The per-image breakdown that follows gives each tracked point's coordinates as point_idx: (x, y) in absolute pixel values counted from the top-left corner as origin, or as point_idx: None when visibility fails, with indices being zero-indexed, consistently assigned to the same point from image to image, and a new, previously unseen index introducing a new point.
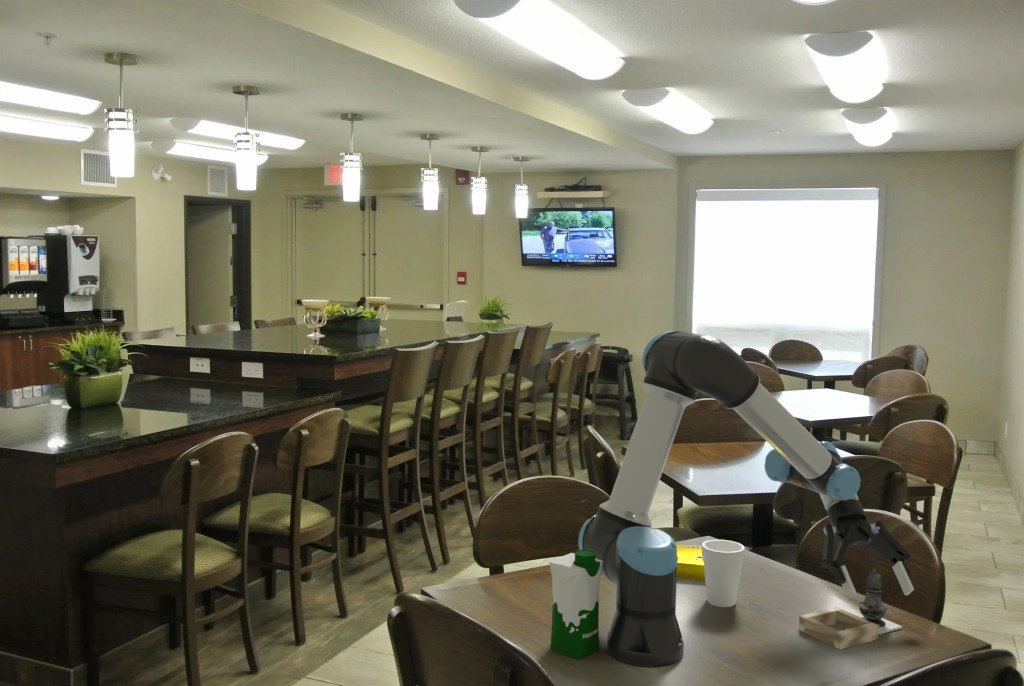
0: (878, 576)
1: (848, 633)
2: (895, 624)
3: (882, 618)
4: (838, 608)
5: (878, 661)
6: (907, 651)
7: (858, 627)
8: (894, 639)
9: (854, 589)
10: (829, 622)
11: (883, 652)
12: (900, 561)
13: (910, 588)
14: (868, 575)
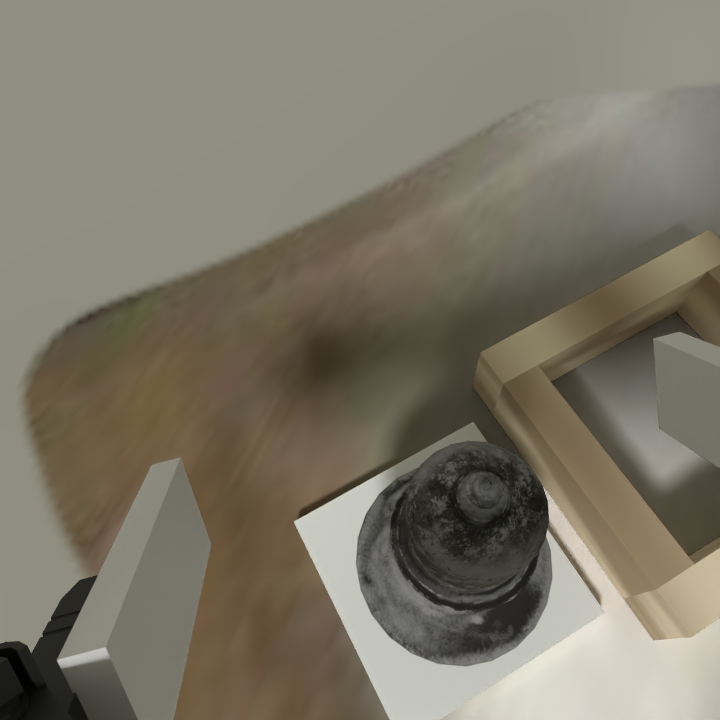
0: (451, 444)
1: (665, 254)
2: (318, 546)
3: (358, 643)
4: (680, 605)
5: (535, 194)
6: (383, 279)
7: (600, 316)
8: (391, 391)
9: (682, 350)
10: (715, 541)
11: (490, 264)
12: (74, 650)
13: (179, 462)
14: (542, 486)
